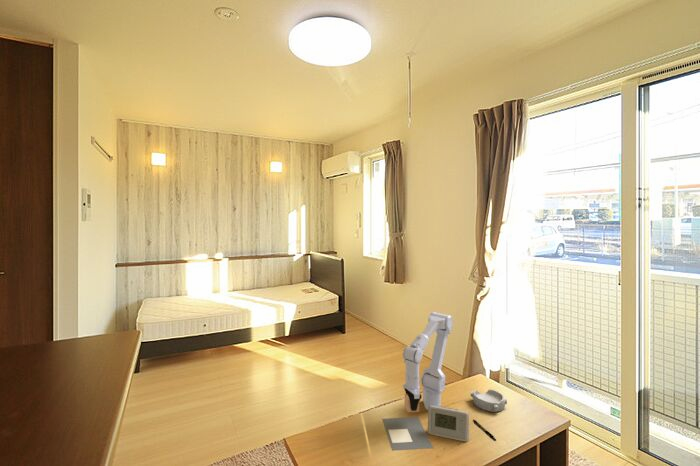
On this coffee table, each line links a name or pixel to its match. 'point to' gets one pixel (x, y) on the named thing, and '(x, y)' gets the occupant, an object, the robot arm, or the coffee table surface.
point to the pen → (484, 429)
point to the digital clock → (448, 423)
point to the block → (407, 404)
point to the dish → (489, 400)
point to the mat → (406, 433)
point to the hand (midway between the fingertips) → (411, 406)
